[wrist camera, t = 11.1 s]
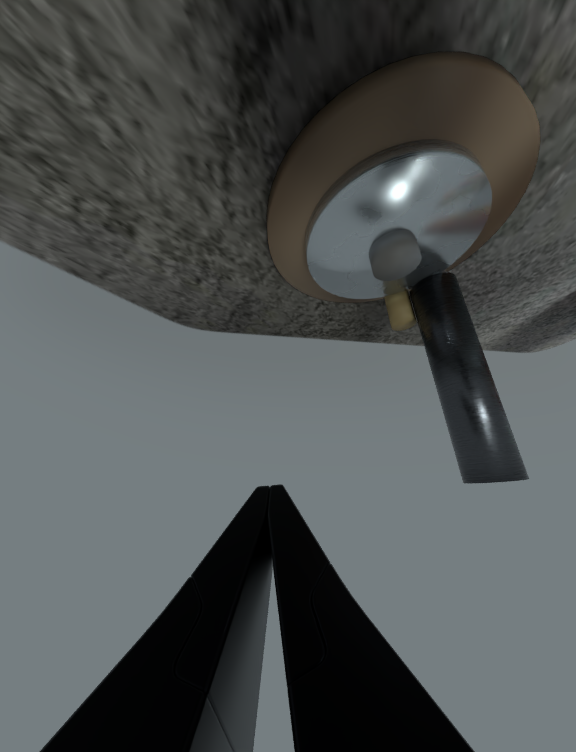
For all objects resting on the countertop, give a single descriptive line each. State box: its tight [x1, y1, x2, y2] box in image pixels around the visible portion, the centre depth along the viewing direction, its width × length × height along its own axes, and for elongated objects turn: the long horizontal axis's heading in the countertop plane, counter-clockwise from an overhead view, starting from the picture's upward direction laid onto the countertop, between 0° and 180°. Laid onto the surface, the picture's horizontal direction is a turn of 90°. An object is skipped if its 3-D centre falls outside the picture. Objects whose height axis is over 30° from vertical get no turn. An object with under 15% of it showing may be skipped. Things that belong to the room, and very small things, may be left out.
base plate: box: [267, 52, 540, 331], centre depth 15 cm, size 13×13×4 cm
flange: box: [305, 139, 529, 483], centre depth 14 cm, size 11×9×13 cm
